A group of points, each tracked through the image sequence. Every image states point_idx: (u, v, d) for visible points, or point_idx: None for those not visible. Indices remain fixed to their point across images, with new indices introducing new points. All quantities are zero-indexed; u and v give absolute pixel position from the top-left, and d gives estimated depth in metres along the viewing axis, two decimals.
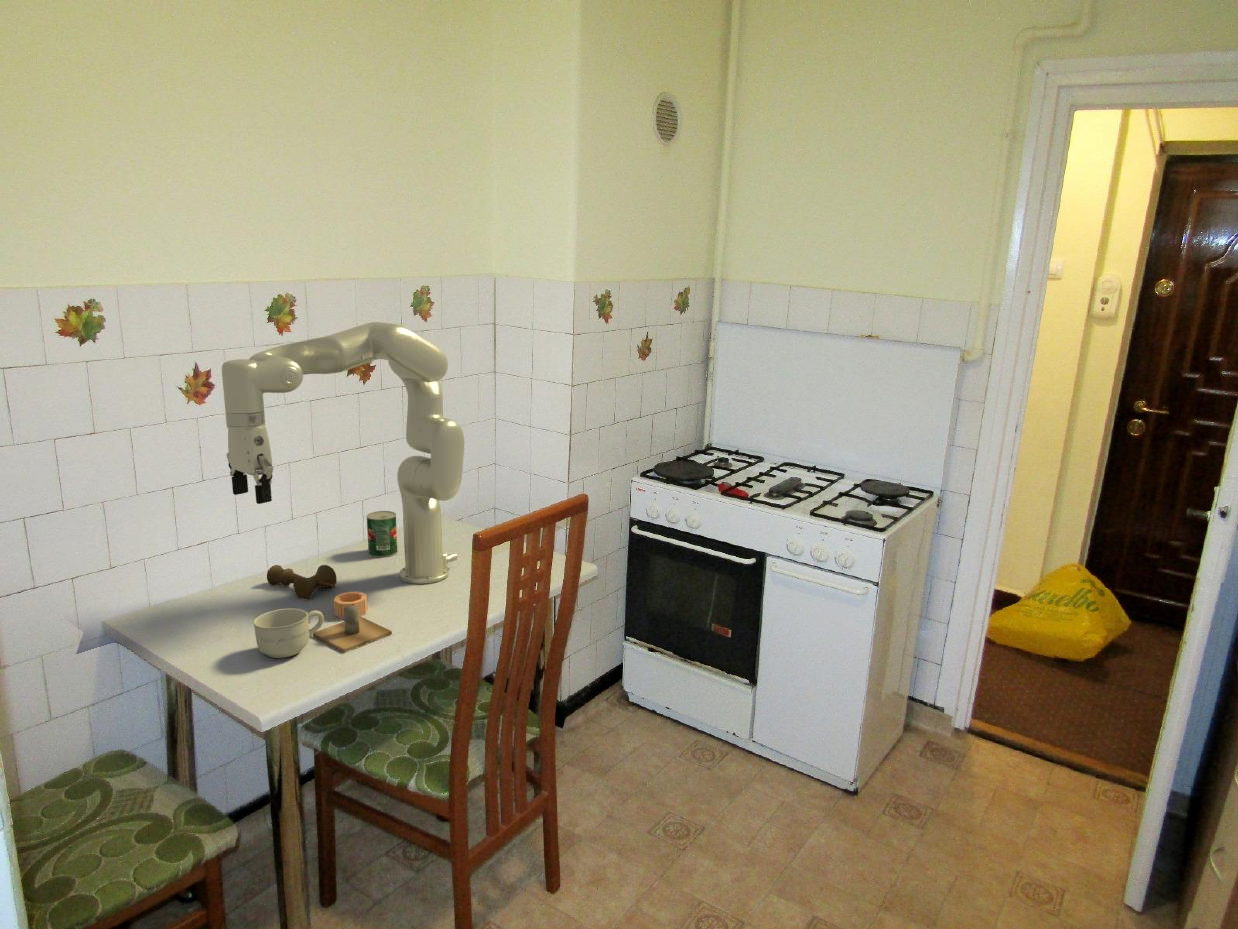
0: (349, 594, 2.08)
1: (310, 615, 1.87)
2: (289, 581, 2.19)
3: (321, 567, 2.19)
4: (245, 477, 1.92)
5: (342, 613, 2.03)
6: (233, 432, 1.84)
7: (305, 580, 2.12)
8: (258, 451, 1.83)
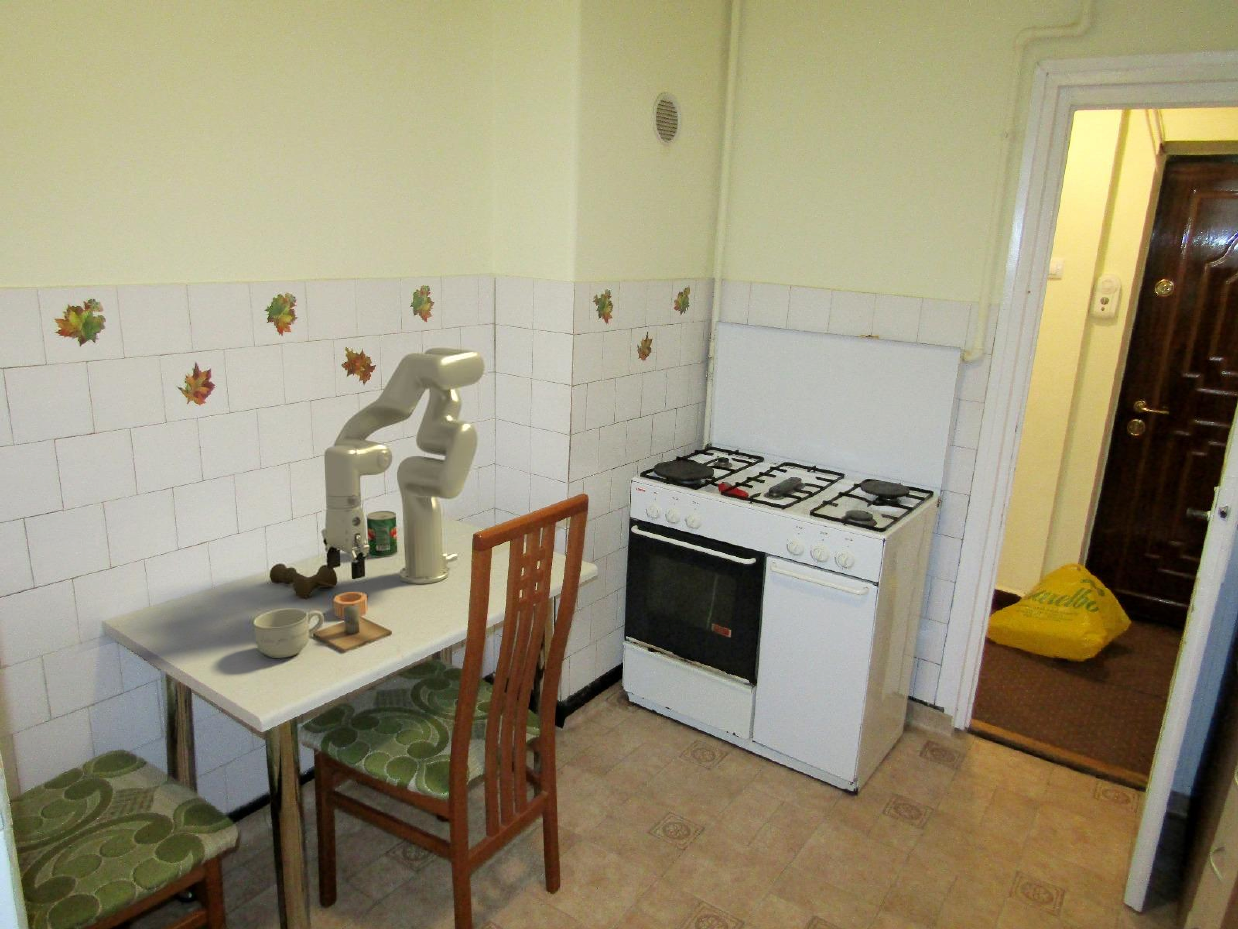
0: (349, 594, 2.08)
1: (310, 615, 1.87)
2: (291, 580, 2.19)
3: (322, 567, 2.20)
4: (338, 552, 2.06)
5: (342, 613, 2.03)
6: (332, 512, 1.99)
7: (304, 580, 2.12)
8: (355, 531, 1.98)
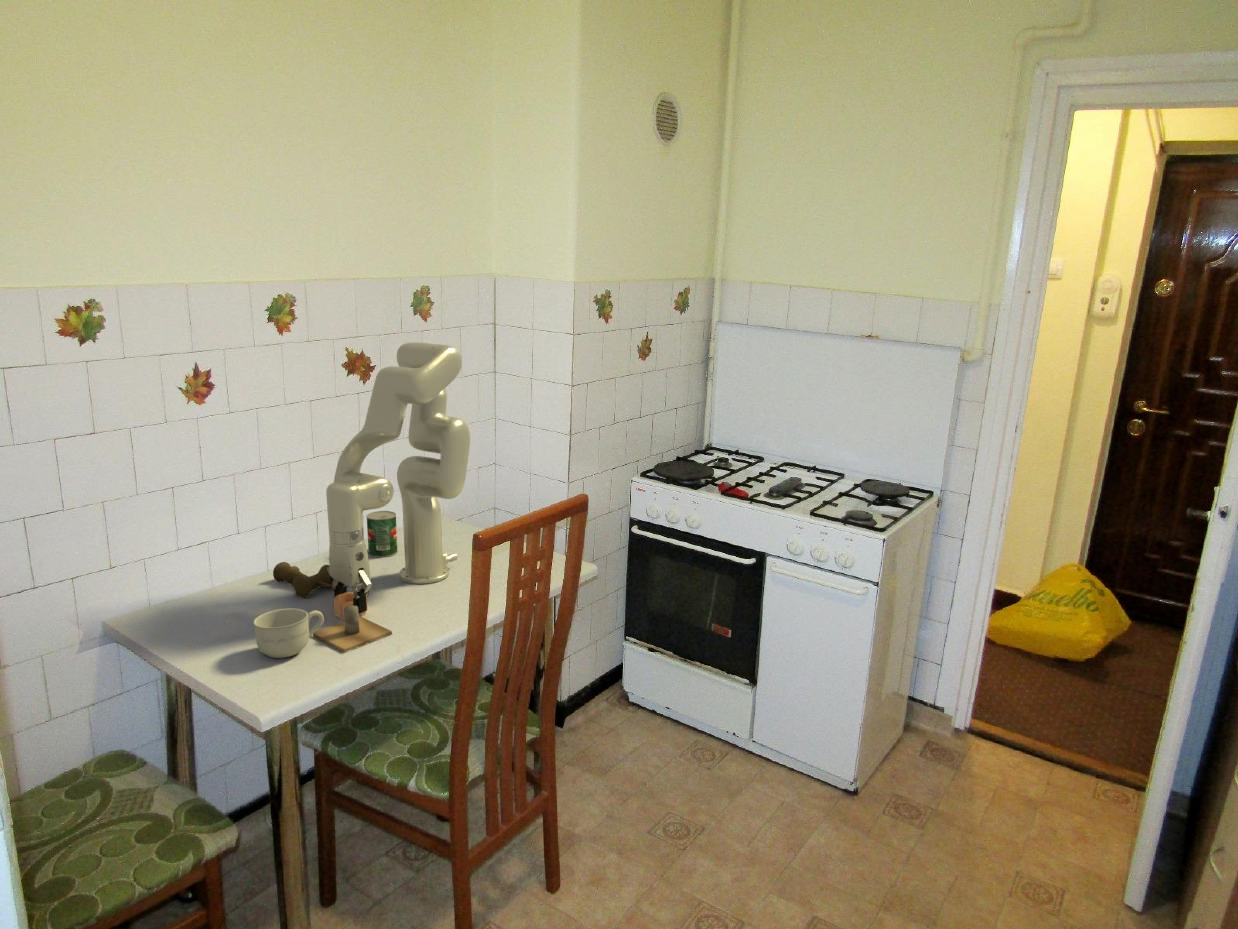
0: (349, 594, 2.08)
1: (310, 615, 1.87)
2: (292, 579, 2.20)
3: (323, 567, 2.20)
4: (345, 588, 2.08)
5: (342, 613, 2.03)
6: (335, 548, 2.01)
7: (303, 579, 2.13)
8: (359, 566, 2.00)
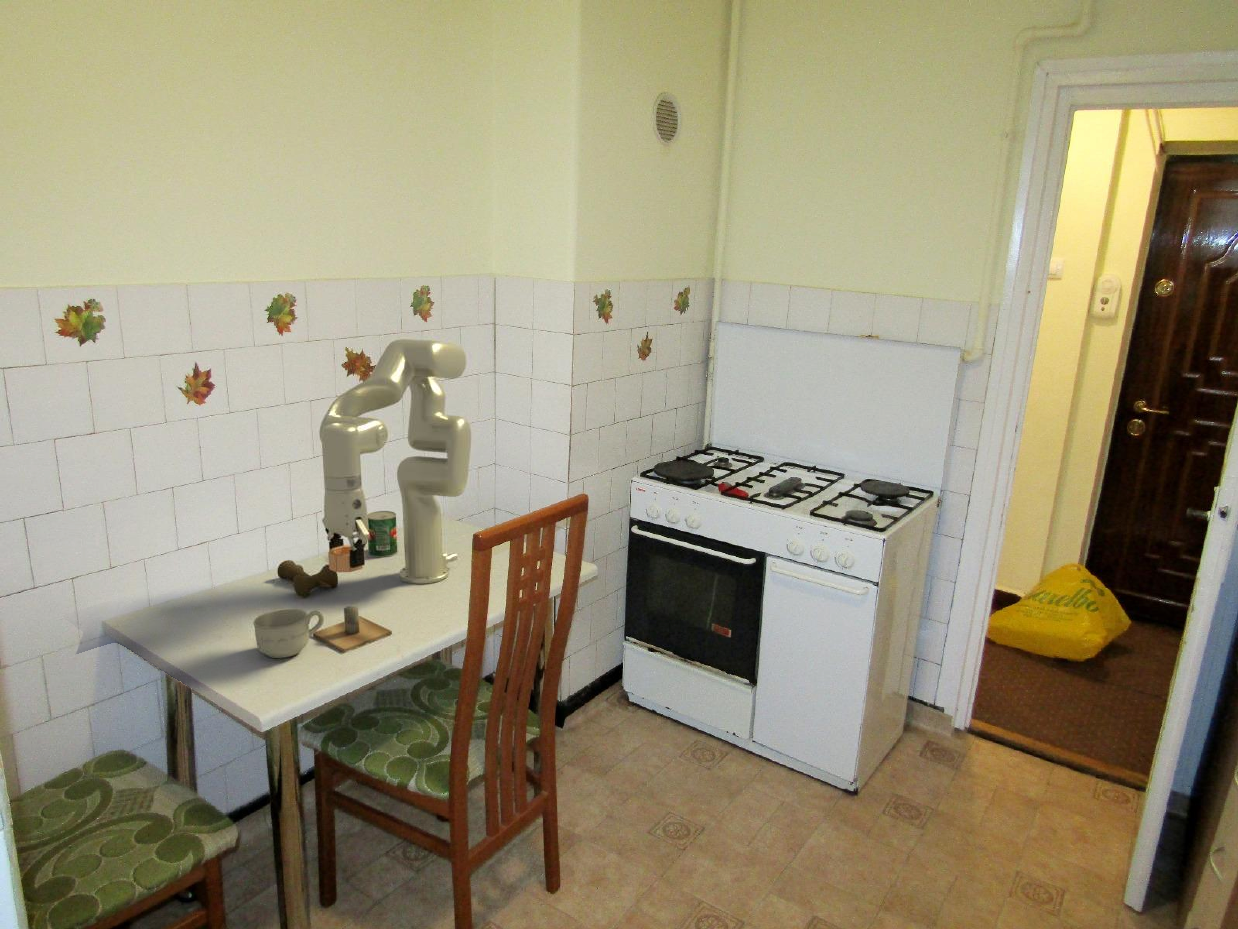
0: (345, 548, 1.92)
1: (310, 615, 1.87)
2: None
3: (325, 566, 2.20)
4: (342, 541, 1.93)
5: (337, 567, 1.87)
6: (331, 495, 1.86)
7: (302, 578, 2.13)
8: (356, 514, 1.84)
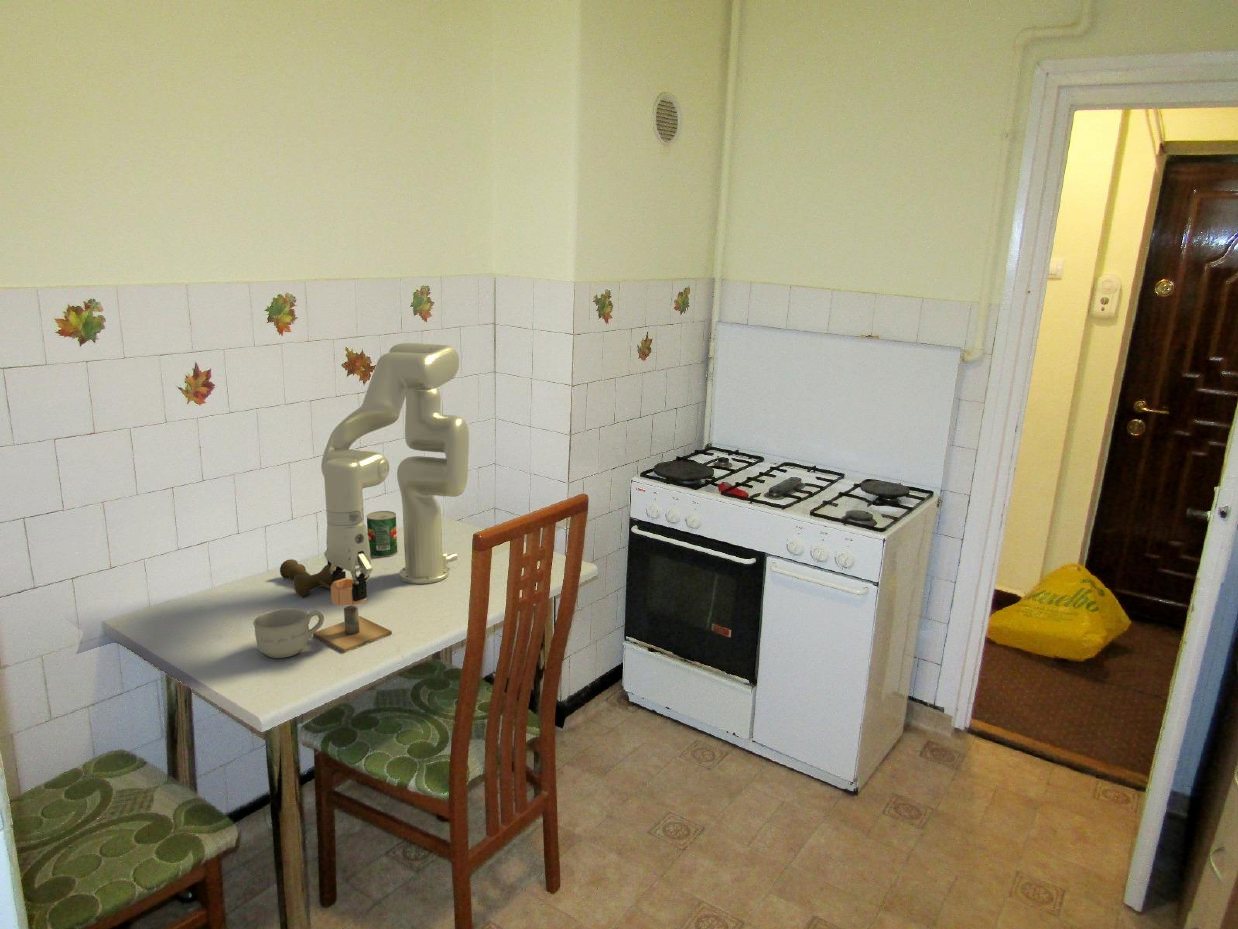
0: (347, 580, 1.94)
1: (310, 615, 1.87)
2: None
3: (325, 566, 2.20)
4: (344, 574, 1.94)
5: (339, 600, 1.89)
6: (333, 529, 1.87)
7: (301, 578, 2.13)
8: (358, 549, 1.86)
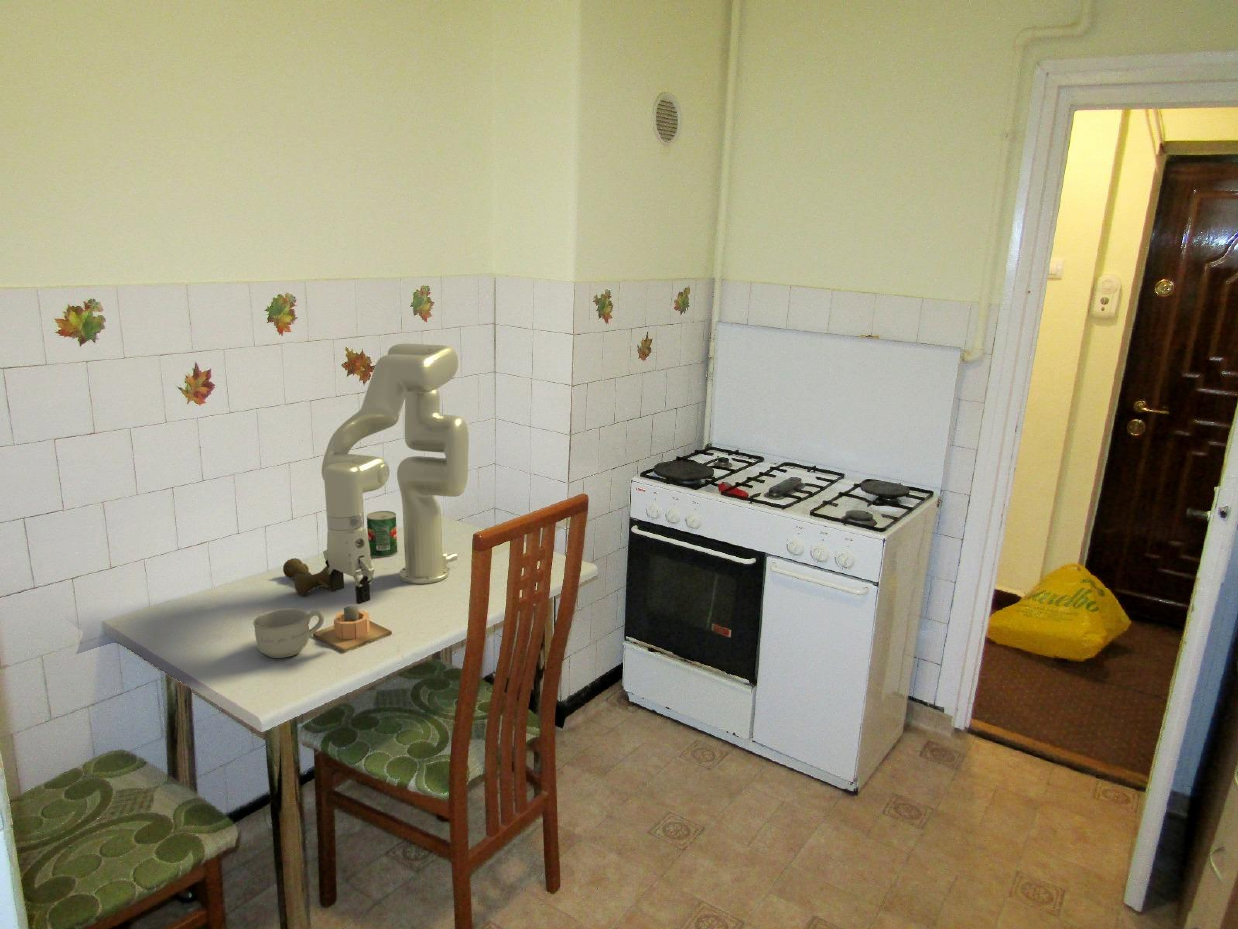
0: None
1: (310, 615, 1.87)
2: None
3: (326, 566, 2.20)
4: (342, 574, 1.95)
5: (342, 633, 1.91)
6: (334, 534, 1.87)
7: (301, 577, 2.14)
8: (359, 553, 1.86)
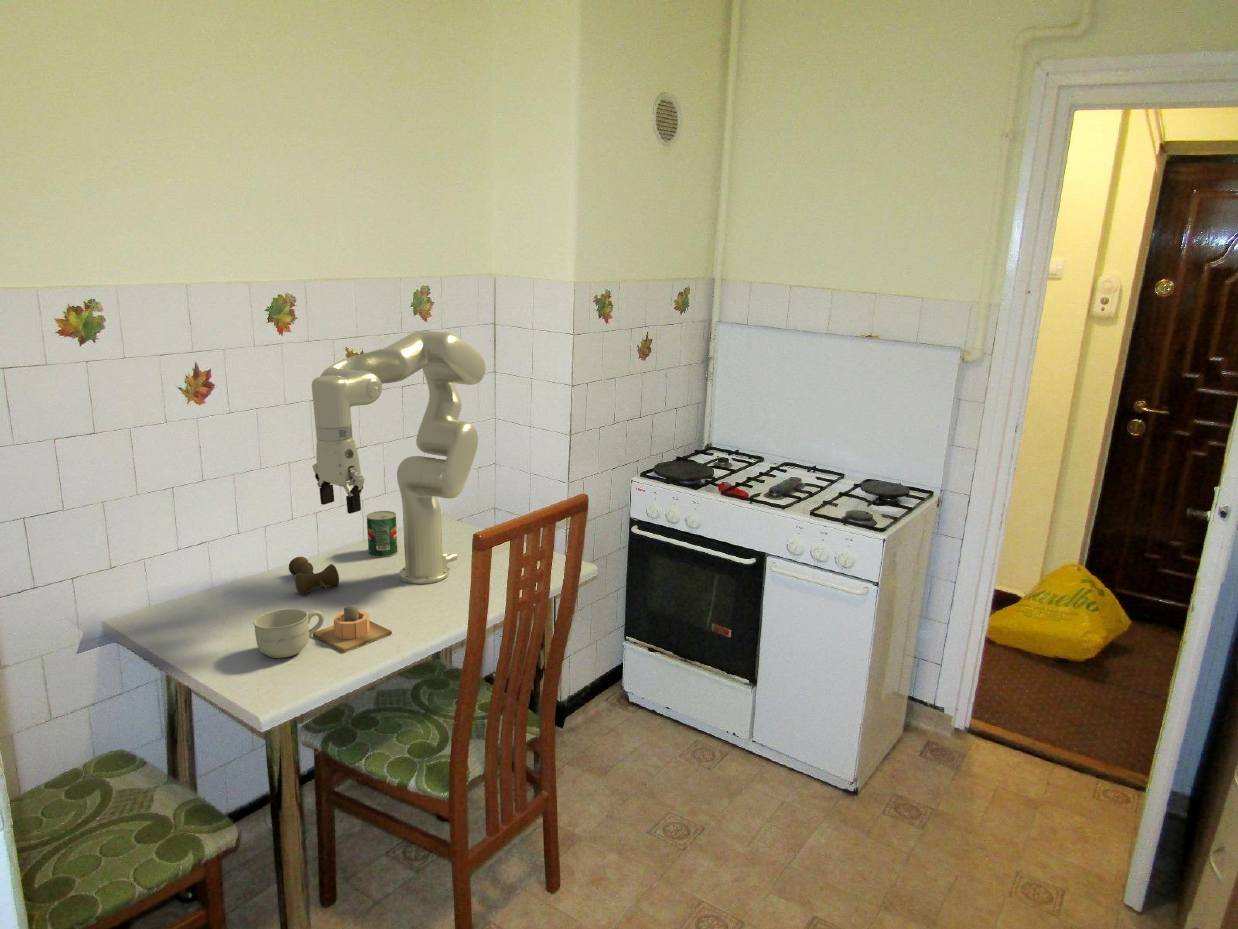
0: None
1: (310, 615, 1.87)
2: None
3: (328, 566, 2.20)
4: (331, 487, 1.99)
5: (342, 633, 1.91)
6: (323, 446, 1.91)
7: (300, 576, 2.14)
8: (348, 464, 1.91)
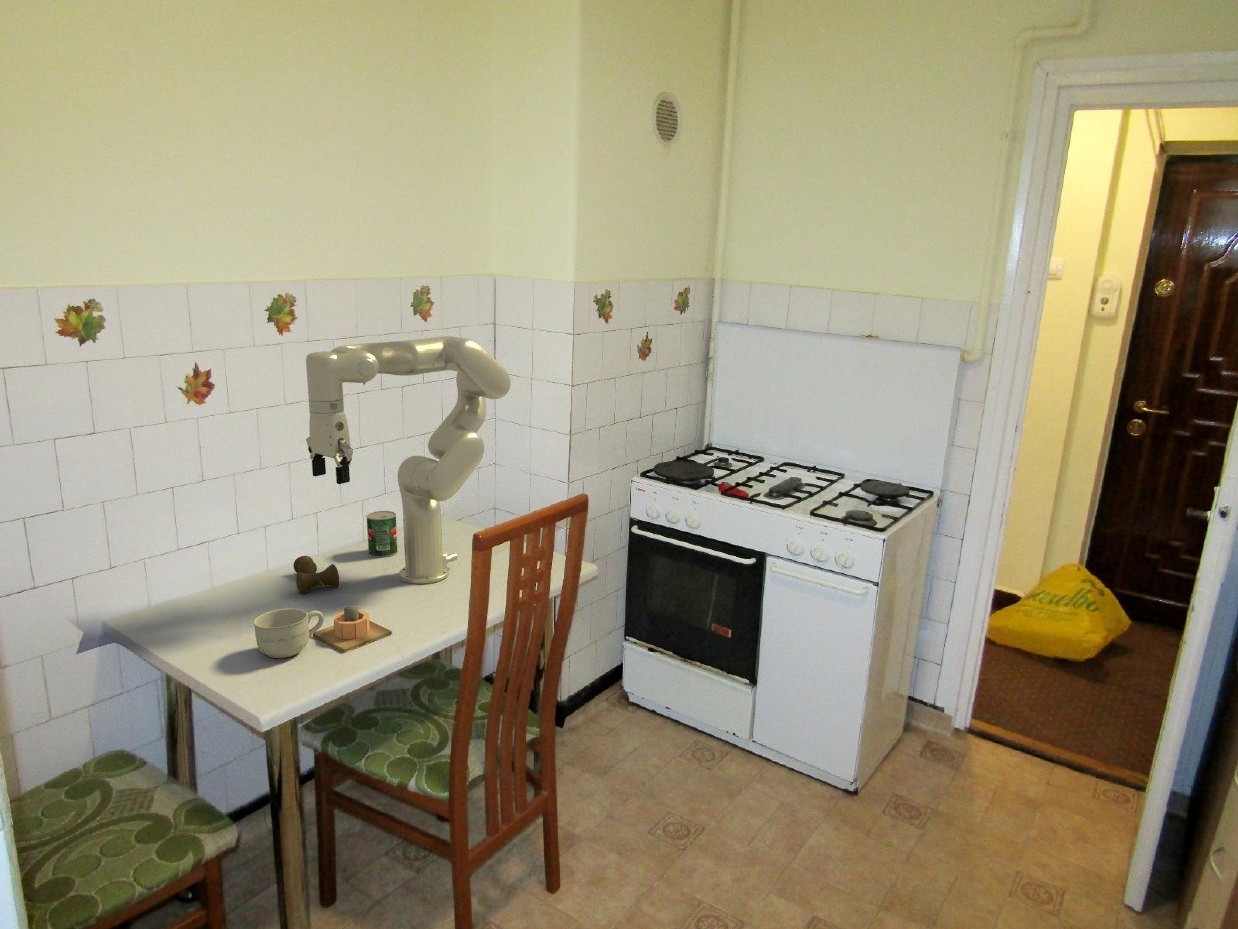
0: None
1: (310, 615, 1.87)
2: None
3: (329, 566, 2.20)
4: (323, 460, 2.08)
5: (342, 633, 1.91)
6: (315, 418, 2.00)
7: (300, 576, 2.15)
8: (339, 436, 1.99)
